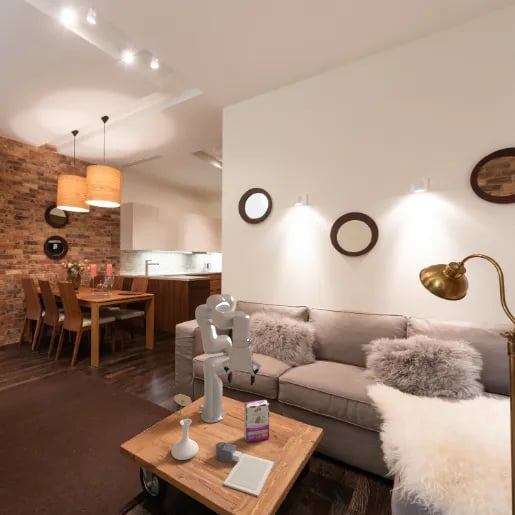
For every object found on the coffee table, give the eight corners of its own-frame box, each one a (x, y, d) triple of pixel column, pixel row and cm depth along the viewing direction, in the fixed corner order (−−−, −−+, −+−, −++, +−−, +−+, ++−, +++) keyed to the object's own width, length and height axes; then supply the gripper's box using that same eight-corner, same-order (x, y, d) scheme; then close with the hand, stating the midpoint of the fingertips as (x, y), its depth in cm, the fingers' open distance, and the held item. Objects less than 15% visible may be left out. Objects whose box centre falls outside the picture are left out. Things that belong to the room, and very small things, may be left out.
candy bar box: (266, 433, 140) (266, 399, 140) (269, 439, 135) (269, 404, 135) (243, 436, 137) (244, 401, 137) (246, 443, 132) (246, 407, 132)
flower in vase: (204, 451, 126) (205, 394, 126) (184, 467, 116) (185, 404, 116) (183, 440, 133) (184, 386, 133) (163, 454, 123) (164, 396, 123)
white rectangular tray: (223, 484, 107) (223, 483, 107) (243, 454, 124) (243, 453, 124) (258, 496, 102) (258, 494, 102) (274, 463, 119) (274, 461, 119)
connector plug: (213, 459, 121) (213, 447, 121) (218, 452, 125) (219, 440, 125) (238, 466, 117) (238, 454, 117) (242, 459, 121) (242, 447, 121)
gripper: (262, 342, 127) (262, 381, 126) (224, 340, 130) (224, 378, 129) (259, 346, 119) (259, 388, 119) (219, 344, 122) (219, 385, 122)
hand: (241, 383), depth 124 cm, fingers open, 9 cm apart
